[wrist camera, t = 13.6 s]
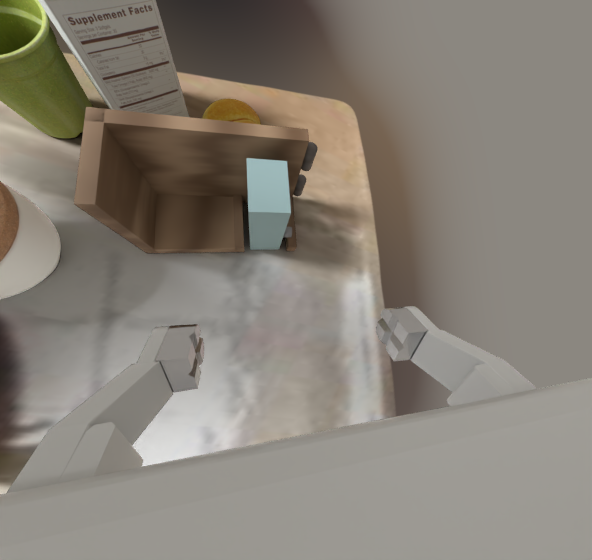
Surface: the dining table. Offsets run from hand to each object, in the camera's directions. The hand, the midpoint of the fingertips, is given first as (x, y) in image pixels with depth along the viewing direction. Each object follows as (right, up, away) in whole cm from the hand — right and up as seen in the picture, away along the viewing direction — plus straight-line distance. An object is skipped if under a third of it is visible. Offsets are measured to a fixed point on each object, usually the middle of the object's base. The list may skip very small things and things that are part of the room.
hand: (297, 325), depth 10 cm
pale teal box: (-4, +8, +17) cm, 20 cm away
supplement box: (-18, +22, +18) cm, 34 cm away
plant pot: (-27, +21, +16) cm, 37 cm away
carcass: (-8, +9, +17) cm, 21 cm away
